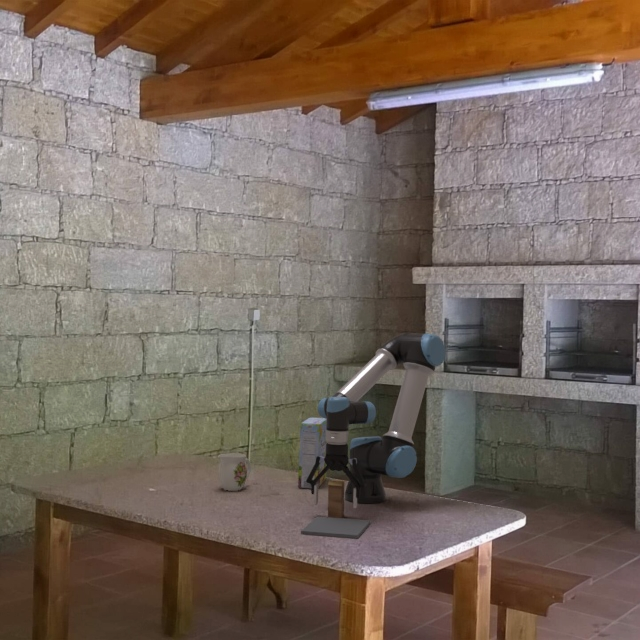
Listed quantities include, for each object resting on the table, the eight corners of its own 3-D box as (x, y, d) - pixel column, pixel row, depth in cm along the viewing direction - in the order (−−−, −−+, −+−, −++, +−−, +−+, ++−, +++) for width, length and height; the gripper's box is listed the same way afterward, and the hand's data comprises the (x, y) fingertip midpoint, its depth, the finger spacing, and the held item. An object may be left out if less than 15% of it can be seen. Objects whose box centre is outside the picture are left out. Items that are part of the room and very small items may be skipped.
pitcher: (260, 487, 339) (260, 452, 339) (228, 494, 325) (229, 458, 324) (239, 483, 346) (239, 449, 345) (207, 490, 331) (208, 454, 331)
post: (331, 514, 295) (331, 479, 295) (343, 515, 294) (344, 480, 294) (327, 517, 290) (328, 481, 290) (340, 518, 289) (341, 482, 289)
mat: (317, 519, 287) (317, 516, 287) (370, 523, 283) (370, 520, 283) (300, 534, 268) (301, 530, 268) (357, 538, 264) (357, 535, 264)
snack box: (319, 489, 336) (320, 423, 336) (297, 488, 337) (298, 422, 337) (327, 479, 357) (328, 417, 357) (306, 478, 359) (307, 416, 359)
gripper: (298, 442, 291) (296, 505, 291) (371, 446, 285) (369, 511, 285) (304, 439, 299) (302, 500, 298) (375, 443, 292) (373, 506, 292)
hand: (335, 505), depth 292 cm, fingers open, 13 cm apart
